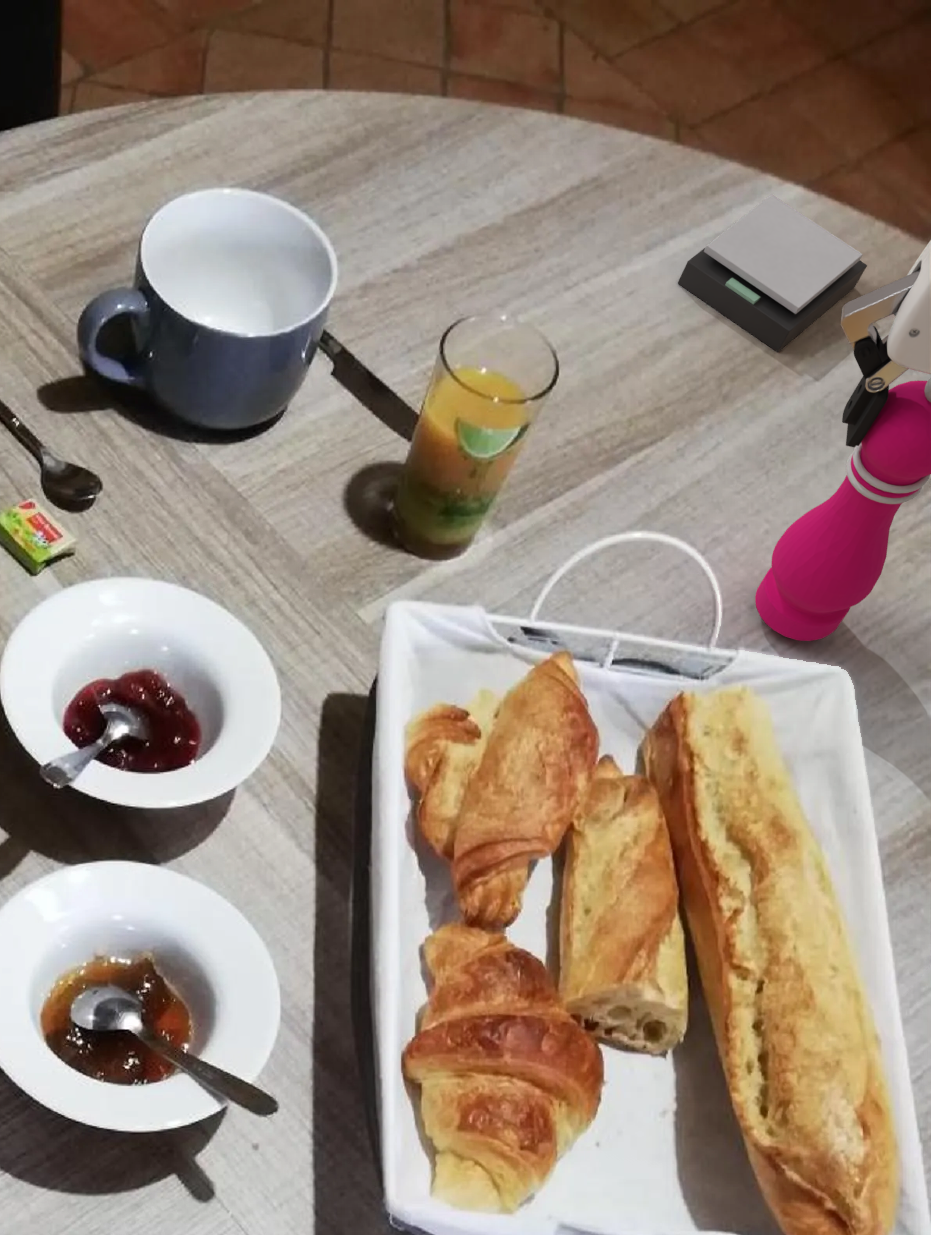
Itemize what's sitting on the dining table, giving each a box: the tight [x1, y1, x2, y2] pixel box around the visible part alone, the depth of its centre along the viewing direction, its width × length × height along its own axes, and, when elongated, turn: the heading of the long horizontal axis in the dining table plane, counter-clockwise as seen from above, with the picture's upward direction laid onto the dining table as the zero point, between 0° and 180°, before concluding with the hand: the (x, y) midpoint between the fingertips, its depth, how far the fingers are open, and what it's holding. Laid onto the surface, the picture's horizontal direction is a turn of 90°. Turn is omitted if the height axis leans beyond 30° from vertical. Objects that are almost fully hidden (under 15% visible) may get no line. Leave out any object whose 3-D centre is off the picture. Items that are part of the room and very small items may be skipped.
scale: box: [677, 193, 868, 353], centre depth 131 cm, size 10×11×3 cm
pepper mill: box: [754, 377, 931, 642], centre depth 109 cm, size 7×7×20 cm
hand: (905, 441), depth 105 cm, fingers closed on pepper mill, 6 cm apart
